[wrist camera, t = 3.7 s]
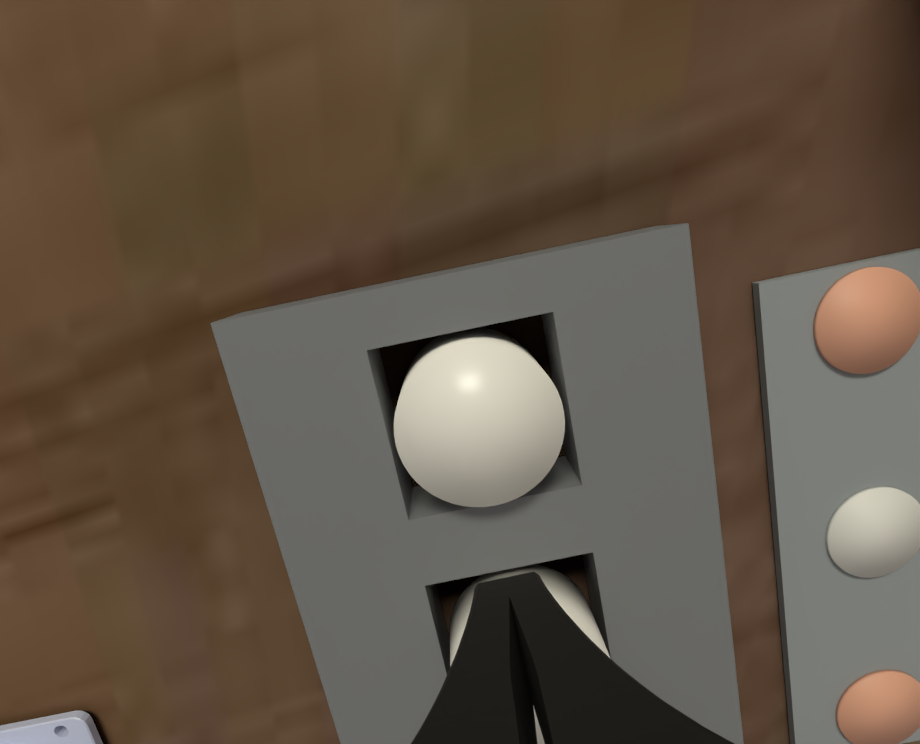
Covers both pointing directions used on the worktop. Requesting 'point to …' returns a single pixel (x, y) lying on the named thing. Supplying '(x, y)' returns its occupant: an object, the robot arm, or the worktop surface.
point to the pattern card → (845, 493)
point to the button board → (509, 524)
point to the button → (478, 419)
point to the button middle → (560, 590)
